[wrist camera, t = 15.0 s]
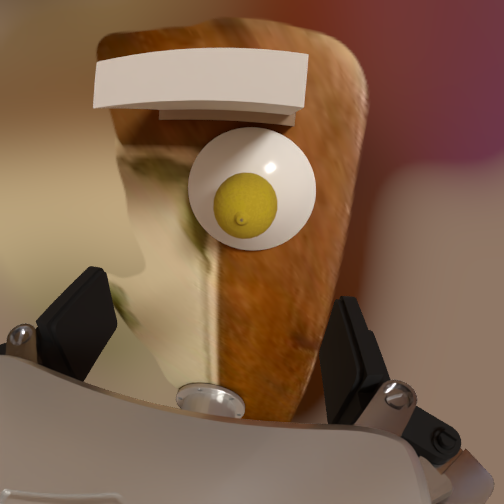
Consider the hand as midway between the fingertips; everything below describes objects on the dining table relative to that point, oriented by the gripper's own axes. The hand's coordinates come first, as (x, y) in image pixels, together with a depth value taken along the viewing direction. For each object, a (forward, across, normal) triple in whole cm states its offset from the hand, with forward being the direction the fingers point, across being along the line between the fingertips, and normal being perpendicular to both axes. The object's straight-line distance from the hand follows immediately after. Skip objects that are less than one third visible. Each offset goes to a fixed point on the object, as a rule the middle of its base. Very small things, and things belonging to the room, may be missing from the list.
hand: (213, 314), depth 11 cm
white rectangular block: (+20, +3, -10) cm, 22 cm away
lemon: (+19, 0, 0) cm, 19 cm away
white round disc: (+20, 0, 0) cm, 20 cm away
